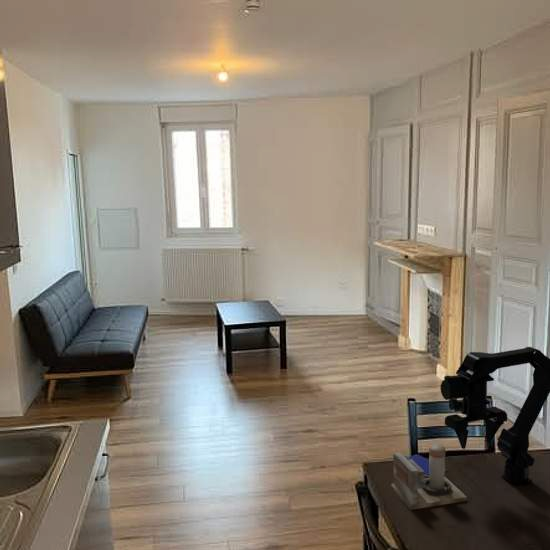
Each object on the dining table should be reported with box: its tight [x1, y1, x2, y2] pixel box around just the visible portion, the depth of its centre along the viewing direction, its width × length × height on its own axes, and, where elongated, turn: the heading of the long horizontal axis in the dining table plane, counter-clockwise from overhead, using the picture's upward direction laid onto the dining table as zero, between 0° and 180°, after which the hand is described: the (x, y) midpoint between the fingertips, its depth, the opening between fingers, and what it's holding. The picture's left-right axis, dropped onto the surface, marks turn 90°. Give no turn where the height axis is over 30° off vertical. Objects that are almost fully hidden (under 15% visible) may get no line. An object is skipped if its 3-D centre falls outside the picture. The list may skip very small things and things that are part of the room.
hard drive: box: [405, 453, 447, 478], centre depth 185 cm, size 2×8×12 cm
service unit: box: [391, 452, 468, 511], centre depth 167 cm, size 18×13×11 cm
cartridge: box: [428, 443, 446, 491], centre depth 168 cm, size 5×5×13 cm
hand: (475, 445), depth 170 cm, fingers open, 9 cm apart
